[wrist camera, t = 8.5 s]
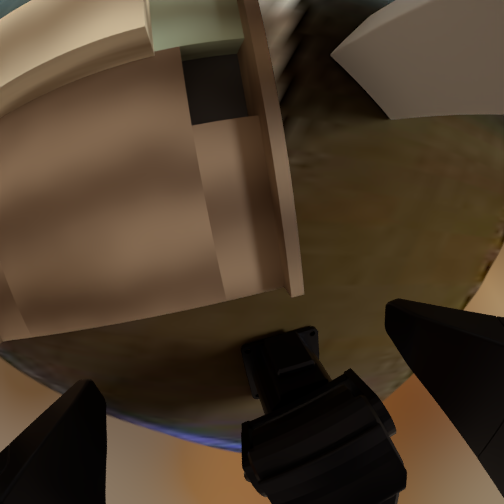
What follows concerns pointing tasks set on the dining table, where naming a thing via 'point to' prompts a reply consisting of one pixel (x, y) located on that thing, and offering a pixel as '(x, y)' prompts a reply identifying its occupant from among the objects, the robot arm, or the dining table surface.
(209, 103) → the open tray box
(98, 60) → the cream rectangular block
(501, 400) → the robot arm
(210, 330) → the dining table surface
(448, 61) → the milk carton
